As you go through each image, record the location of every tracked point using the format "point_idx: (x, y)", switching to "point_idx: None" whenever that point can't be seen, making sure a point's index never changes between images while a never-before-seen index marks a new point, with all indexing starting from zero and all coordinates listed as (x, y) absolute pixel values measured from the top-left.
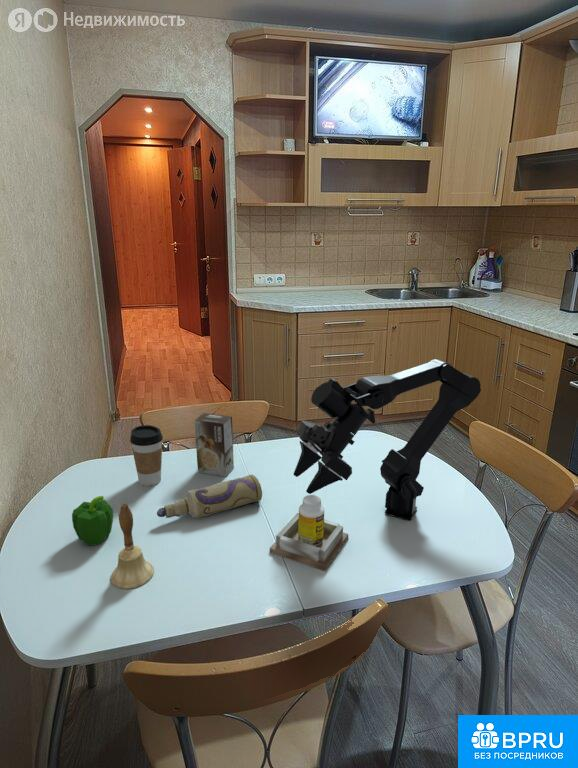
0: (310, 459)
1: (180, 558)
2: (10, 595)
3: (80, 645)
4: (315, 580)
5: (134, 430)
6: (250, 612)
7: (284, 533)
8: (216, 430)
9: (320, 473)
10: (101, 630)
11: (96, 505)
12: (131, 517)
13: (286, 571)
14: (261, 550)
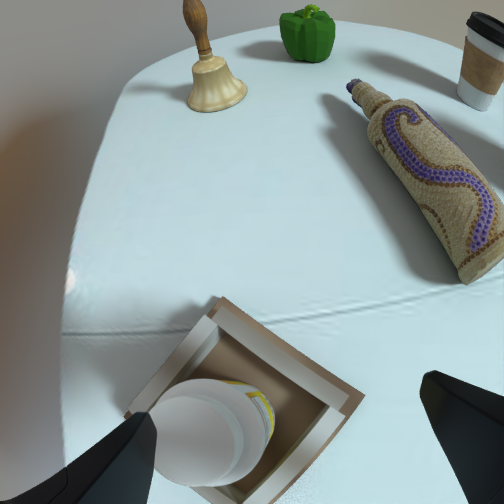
0: (498, 494)
1: (242, 134)
2: (216, 40)
3: (124, 95)
4: (108, 383)
5: (488, 17)
6: (79, 247)
7: (228, 333)
8: None
9: (12, 499)
10: (134, 101)
11: (315, 17)
12: (187, 13)
13: (146, 328)
14: (236, 279)
